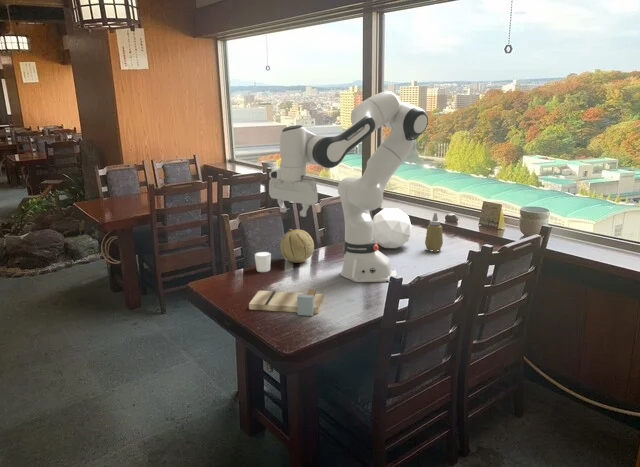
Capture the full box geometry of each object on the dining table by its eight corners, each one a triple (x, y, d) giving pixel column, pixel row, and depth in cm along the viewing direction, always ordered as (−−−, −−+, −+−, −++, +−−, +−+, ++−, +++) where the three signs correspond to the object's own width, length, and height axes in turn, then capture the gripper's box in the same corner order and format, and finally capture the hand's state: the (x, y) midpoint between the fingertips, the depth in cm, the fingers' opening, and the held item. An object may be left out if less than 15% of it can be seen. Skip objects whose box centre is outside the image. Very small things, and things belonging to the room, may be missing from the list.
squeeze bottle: (444, 249, 226) (447, 212, 221) (438, 254, 219) (441, 215, 215) (428, 247, 230) (430, 210, 225) (422, 251, 224) (423, 213, 219)
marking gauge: (319, 299, 171) (319, 282, 169) (312, 315, 158) (312, 297, 156) (305, 298, 172) (305, 281, 170) (297, 314, 159) (297, 296, 157)
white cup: (268, 273, 198) (268, 257, 196) (253, 272, 200) (252, 256, 198) (273, 267, 205) (273, 251, 203) (258, 266, 206) (257, 251, 204)
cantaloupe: (318, 265, 207) (317, 231, 203) (284, 268, 203) (283, 234, 199) (308, 255, 220) (308, 223, 216) (277, 258, 216) (276, 226, 212)
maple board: (323, 299, 172) (323, 293, 171) (318, 313, 160) (318, 307, 160) (259, 295, 176) (258, 290, 175) (249, 309, 164) (248, 303, 164)
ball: (384, 257, 238) (384, 220, 245) (420, 250, 225) (419, 211, 232) (361, 246, 224) (362, 207, 232) (398, 237, 212) (398, 196, 219)
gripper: (322, 176, 159) (321, 217, 163) (278, 170, 172) (279, 208, 176) (309, 178, 155) (309, 220, 158) (265, 172, 167) (266, 211, 171)
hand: (293, 214), depth 167 cm, fingers open, 8 cm apart
